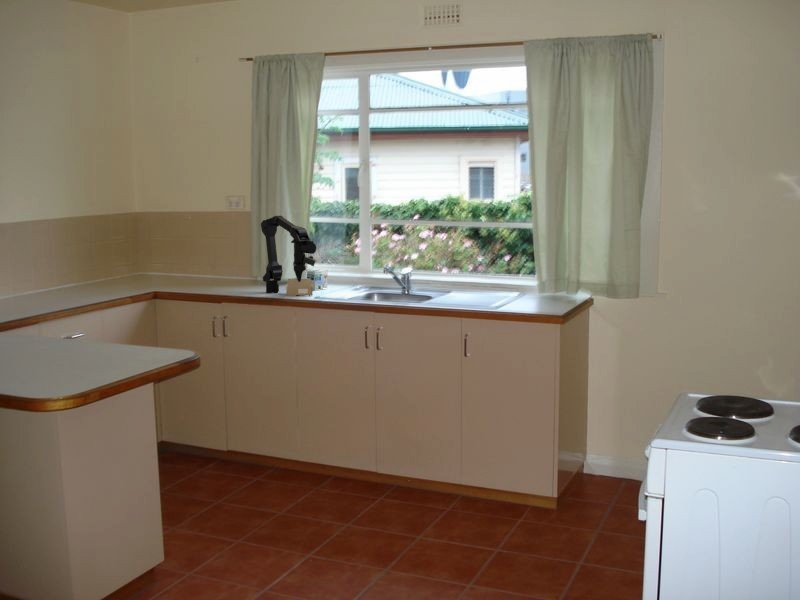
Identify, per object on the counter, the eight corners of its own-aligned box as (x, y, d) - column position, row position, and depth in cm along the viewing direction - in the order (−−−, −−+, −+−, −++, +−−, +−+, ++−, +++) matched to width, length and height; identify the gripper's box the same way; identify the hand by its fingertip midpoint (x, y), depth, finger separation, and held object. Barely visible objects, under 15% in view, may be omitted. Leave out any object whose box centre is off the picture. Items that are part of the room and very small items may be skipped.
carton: (285, 296, 463) (285, 286, 462) (285, 293, 473) (285, 283, 473) (312, 296, 465) (312, 286, 464) (311, 293, 475) (311, 283, 474)
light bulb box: (315, 290, 485) (315, 271, 484) (306, 289, 489) (306, 270, 488) (327, 289, 494) (328, 270, 492) (319, 287, 498) (319, 269, 496)
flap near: (287, 285, 462) (287, 286, 462) (287, 278, 459) (287, 279, 458) (310, 285, 464) (310, 286, 463) (310, 278, 460) (310, 279, 460)
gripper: (315, 254, 449) (315, 284, 452) (314, 249, 467) (314, 278, 470) (293, 254, 447) (293, 284, 450) (293, 249, 466) (293, 278, 468)
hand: (299, 281), depth 460 cm, fingers closed
